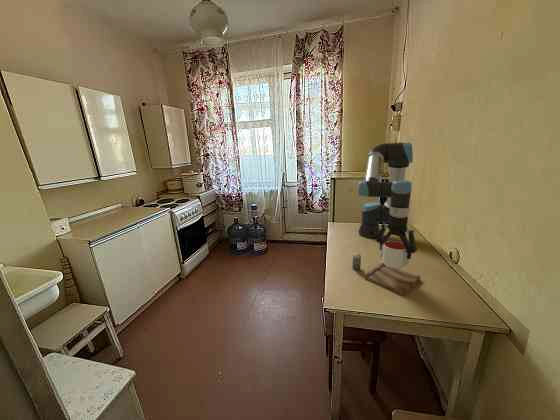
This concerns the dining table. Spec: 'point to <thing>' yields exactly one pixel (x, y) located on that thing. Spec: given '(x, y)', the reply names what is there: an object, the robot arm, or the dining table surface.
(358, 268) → the shaker
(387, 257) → the cup
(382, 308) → the dining table surface
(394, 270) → the board
